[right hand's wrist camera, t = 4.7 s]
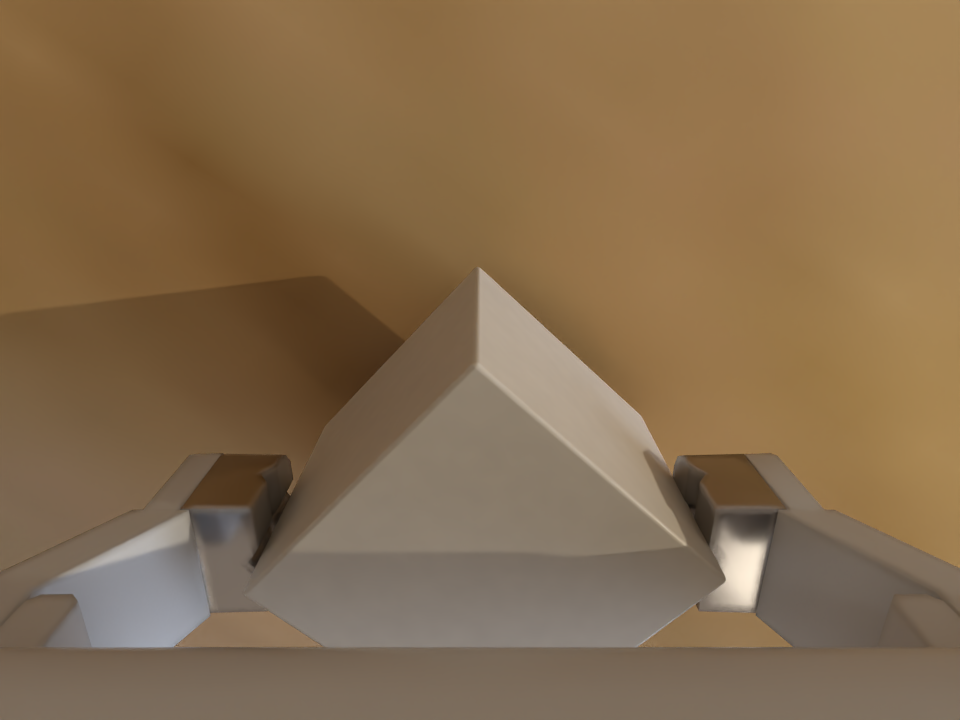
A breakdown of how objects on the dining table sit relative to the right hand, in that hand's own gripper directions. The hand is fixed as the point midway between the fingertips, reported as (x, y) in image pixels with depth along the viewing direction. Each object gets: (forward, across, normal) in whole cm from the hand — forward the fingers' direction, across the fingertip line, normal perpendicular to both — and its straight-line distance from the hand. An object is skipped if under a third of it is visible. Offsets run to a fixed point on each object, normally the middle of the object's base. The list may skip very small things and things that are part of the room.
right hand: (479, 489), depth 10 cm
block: (+2, 0, 0) cm, 2 cm away
